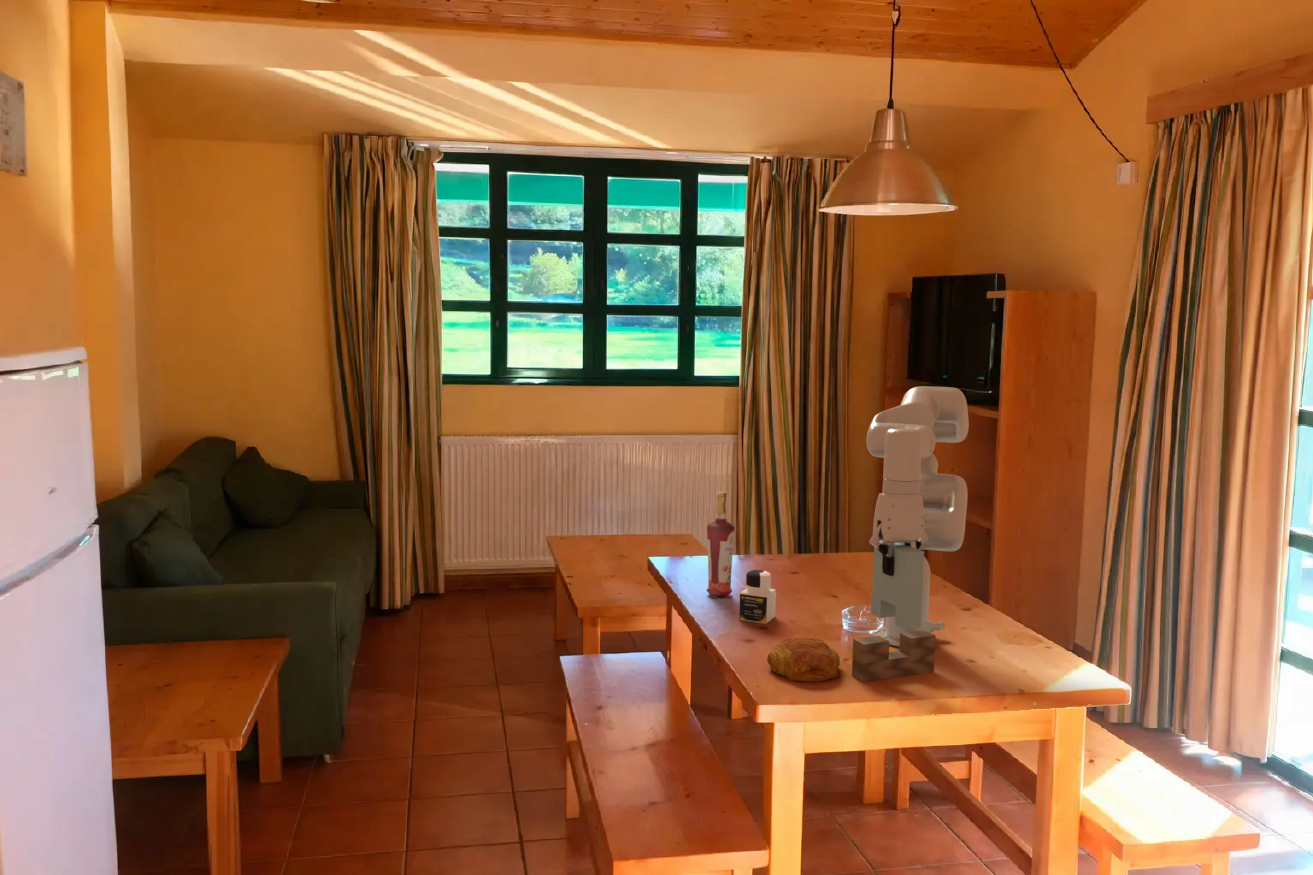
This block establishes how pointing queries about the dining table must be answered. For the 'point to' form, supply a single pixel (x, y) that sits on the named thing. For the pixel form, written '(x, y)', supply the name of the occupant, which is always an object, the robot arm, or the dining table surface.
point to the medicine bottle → (757, 598)
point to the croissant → (804, 660)
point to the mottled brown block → (893, 656)
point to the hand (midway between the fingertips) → (897, 572)
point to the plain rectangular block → (899, 587)
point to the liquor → (720, 551)
